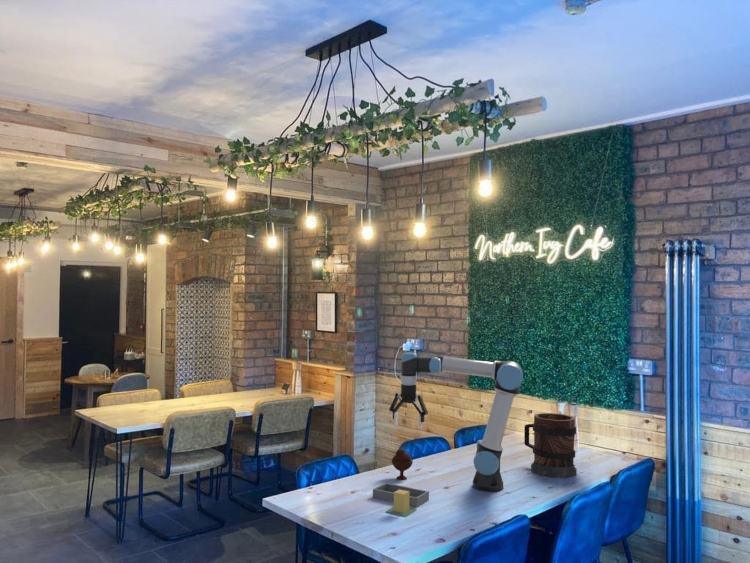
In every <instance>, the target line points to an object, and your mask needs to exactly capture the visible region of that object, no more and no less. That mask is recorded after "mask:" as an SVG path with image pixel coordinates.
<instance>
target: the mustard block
mask: <svg viewBox="0 0 750 563" xmlns="http://www.w3.org/2000/svg"><path fill="white" fill-rule="evenodd" d="M409 492H410V491H405V490H400V489H399V490H397V491H396V492H394V502H393V507H394V511H396V512H401V513H405V512H407V511H408V510H409V508H410V506H409Z"/></svg>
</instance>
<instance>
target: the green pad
mask: <svg viewBox="0 0 750 563" xmlns="http://www.w3.org/2000/svg"><path fill="white" fill-rule="evenodd" d="M417 510H418V508H414V507H413V508H412V507H409V510H408V511H407V512H405V513H401V512H396V511H394V506H392V507H391V508H389V509H386V511H385V513H386V514H390V515H392V516H393V515H394V516H396V517H397V516H399V517H403V518H406V517H408V516H410V515H412V514H413V513H415V512H417Z"/></svg>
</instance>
